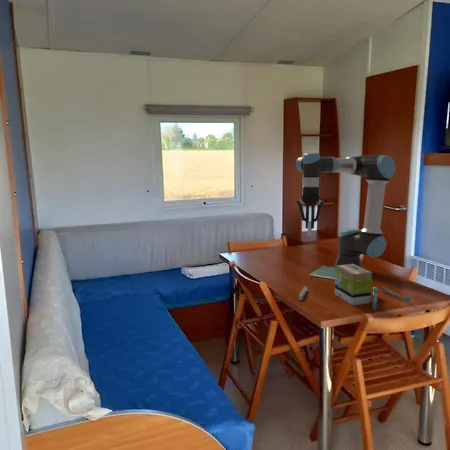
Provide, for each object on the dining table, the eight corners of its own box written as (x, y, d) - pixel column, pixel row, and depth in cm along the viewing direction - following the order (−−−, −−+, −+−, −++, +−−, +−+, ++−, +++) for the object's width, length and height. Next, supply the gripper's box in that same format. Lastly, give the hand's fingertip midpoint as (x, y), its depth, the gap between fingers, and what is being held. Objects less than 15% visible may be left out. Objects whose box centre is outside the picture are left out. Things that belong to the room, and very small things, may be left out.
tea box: (333, 295, 199) (334, 264, 196) (352, 292, 201) (353, 263, 199) (352, 306, 184) (353, 273, 182) (371, 303, 187) (373, 271, 185)
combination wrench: (381, 285, 202) (410, 298, 183) (384, 285, 202) (413, 298, 183) (381, 293, 203) (410, 306, 184) (383, 292, 203) (412, 306, 184)
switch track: (304, 289, 206) (304, 280, 205) (377, 297, 195) (377, 287, 194) (298, 300, 191) (298, 290, 190) (376, 309, 180) (377, 298, 179)
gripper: (295, 186, 196) (294, 235, 200) (323, 187, 192) (322, 237, 196) (298, 185, 203) (297, 233, 207) (325, 185, 199) (324, 234, 203)
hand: (309, 235), depth 202 cm, fingers closed
